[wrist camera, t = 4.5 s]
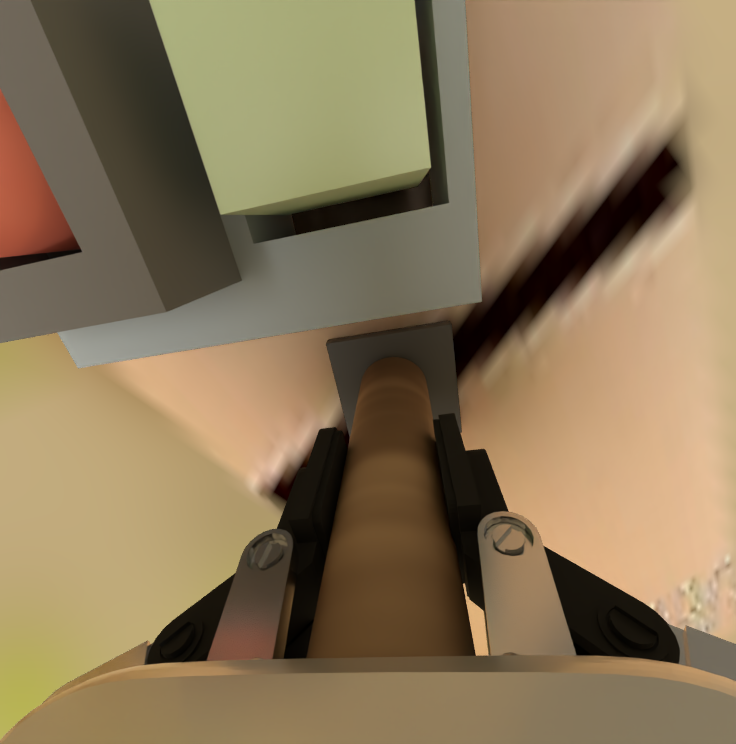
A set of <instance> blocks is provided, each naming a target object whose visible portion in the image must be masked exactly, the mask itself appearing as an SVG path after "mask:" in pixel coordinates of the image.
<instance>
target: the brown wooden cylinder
mask: <svg viewBox="0 0 736 744" xmlns="http://www.w3.org/2000/svg"><path fill="white" fill-rule="evenodd" d="M419 656H476V654H475V649H474V643H473V638H472V632H471V627H470V621H469V616H468V610H467V604H466V599H465V593H464V588H463V582H462V577H461V571H460V566H459V560H458V554H457V549H456V545H455V543H454V540H453V538H452V535H451V529H450V523H449V517H448V512H447V506H446V500H445V494H444V488H443V482H442V477H441V471H440V465H439V459H438V453H437V447H436V442H435V434H434V427H433V416H432V410H431V404H430V399H429V393H428V388H427V382H426V378H425V376H424V374H423V372H422V371H421V369H420V368H419V367H418V366H417V365H416V364H414V363H413V362H411V361H409V360H407V359H404V358H399V357H388V358H383V359H380V360H378V361H376V362H375V363H373V364H372V365H371V366H369V367H368V369H367V370H366V371H365V373H364V375H363V377H362V380H361V385H360V390H359V395H358V400H357V405H356V410H355V415H354V420H353V425H352V430H351V435H350V441H349V446H348V451H347V456H346V461H345V466H344V471H343V476H342V481H341V486H340V491H339V496H338V501H337V506H336V511H335V516H334V521H333V526H332V531H331V536H330V541H329V546H328V551H327V556H326V561H325V566H324V571H323V576H322V582H321V587H320V592H319V597H318V602H317V607H316V612H315V617H314V622H313V627H312V632H311V637H310V642H309V647H308V652H307V657H306V659H308V658H361V657H419Z"/></svg>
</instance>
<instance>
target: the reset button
mask: <svg viewBox="0 0 736 744" xmlns="http://www.w3.org/2000/svg"><path fill="white" fill-rule="evenodd" d="M77 249H81V248H80V246H79V244H78V242H77V240H76V238H75V236H74V234H73V232H72V230H71V228H70V226H69V224H68V222H67V221H66V219H65V217H64V215H63V213H62V211H61V209H60V207H59V205H58V203H57V201H56V199H55V197H54V195H53V193H52V191H51V189H50V187H49V185H48V183H47V181H46V179H45V177H44V175H43V173H42V171H41V169H40V167H39V165H38V163H37V161H36V159H35V157H34V155H33V153H32V151H31V149H30V147H29V145H28V143H27V141H26V139H25V137H24V135H23V133H22V131H21V129H20V127H19V125H18V123H17V121H16V119H15V117H14V115H13V113H12V111H11V109H10V107H9V105H8V103H7V101H6V99H5V97H4V95H3V93H2V91H1V89H0V258H2V257H11V256H21V255H30V254H40V253H49V252H58V251H68V250H77Z"/></svg>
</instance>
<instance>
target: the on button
mask: <svg viewBox="0 0 736 744" xmlns="http://www.w3.org/2000/svg"><path fill="white" fill-rule="evenodd" d="M149 1H150V4H151V7H152V10H153V13H154V16H155V19H156V22H157V25H158V28H159V31H160V34H161V37H162V40H163V43H164V46H165V49H166V52H167V55H168V58H169V61H170V64H171V67H172V70H173V73H174V76H175V79H176V82H177V85H178V88H179V91H180V94H181V97H182V100H183V103H184V106H185V109H186V112H187V115H188V118H189V121H190V124H191V127H192V130H193V133H194V136H195V139H196V142H197V145H198V148H199V151H200V154H201V157H202V160H203V163H204V166H205V169H206V172H207V175H208V178H209V181H210V184H211V187H212V190H213V193H214V196H215V199H216V202H217V205H218V208H219V211H220V214H221V215H290V214H294V213H299V212H304V211H308V210H313V209H317V208H322V207H326V206H331V205H335V204H340V203H345V202H349V201H354V200H358V199H363V198H367V197H372V196H376V195H381V194H386V193H390V192H395V191H399V190H404V189H408V188H413V187H417V186H418V185H419V184H420V182H421V181H422V179H423V178H424V177H425V175H426V174H427V172H428V171H429V169H430V168H431V161H430V151H429V141H428V131H427V121H426V111H425V101H424V91H423V81H422V71H421V61H420V51H419V41H418V31H417V21H416V11H415V1H414V0H149Z"/></svg>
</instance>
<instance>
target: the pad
mask: <svg viewBox="0 0 736 744" xmlns="http://www.w3.org/2000/svg"><path fill="white" fill-rule="evenodd" d="M326 346H327V350H328V354H329V358H330V361H331V365H332V369H333V373H334V377H335V381H336V385H337V389H338V393H339V397H340V401H341V405H342V409H343V413H344V417H345V421H346V424H347V428H348V432H349V436H350V435H351V430H352V425H353V420H354V415H355V410H356V405H357V400H358V395H359V390H360V385H361V380H362V377H363V375H364V373H365V371H366V370H367V369H368V367H369V366H371V365H372V364H373V363H375V362H376V361H378V360H380V359H383V358H388V357H399V358H404V359H407V360H409V361H411V362H413V363H414V364H416V365H417V366H418V367H419V368H420V369H421V371H422V372H423V374H424V376H425V378H426V382H427V388H428V393H429V399H430V404H431V410H432V416H433V420H434V419H439V418H438V415H441V414H449V413H454V414H455V417H456V420H457V424H458V427H459V431H460V433H461V432H462V430H461V419H460V409H459V398H458V388H457V377H456V366H455V356H454V345H453V335H452V324H451V322H450V321H444V322H438V323H432V324H425V325H419V326H413V327H406V328H400V329H394V330H388V331H381V332H375V333H369V334H362V335H356V336H350V337H344V338H337V339H331V340H328V341H327V343H326Z"/></svg>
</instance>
